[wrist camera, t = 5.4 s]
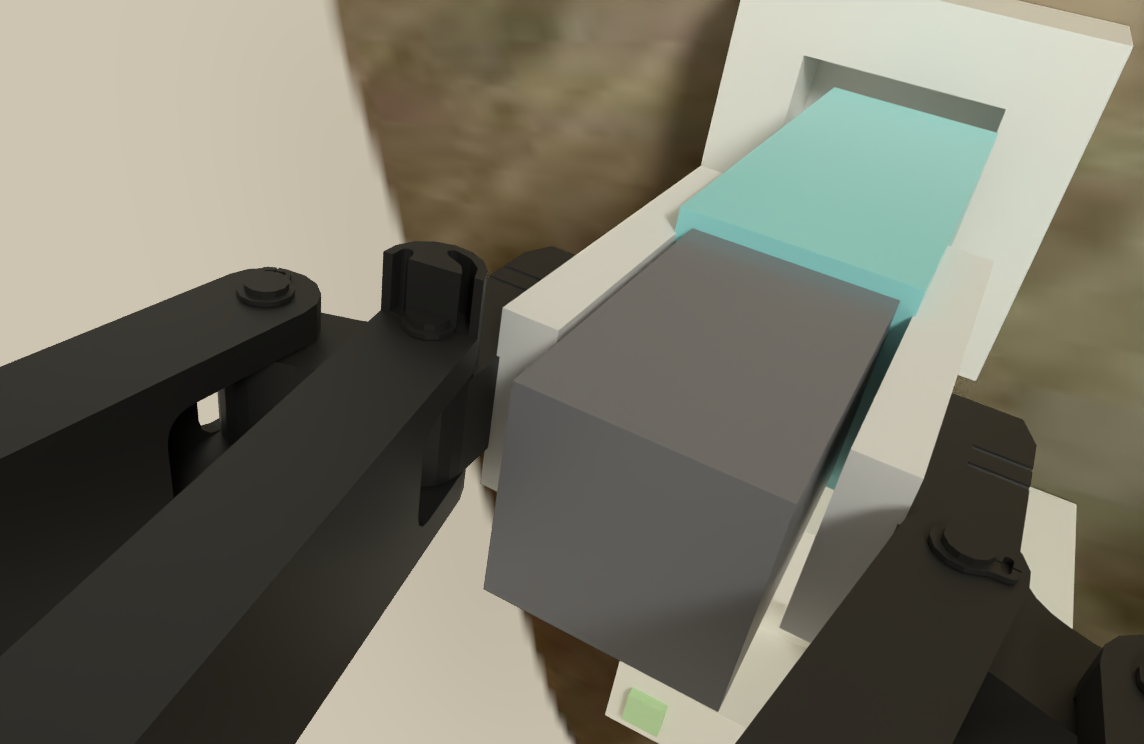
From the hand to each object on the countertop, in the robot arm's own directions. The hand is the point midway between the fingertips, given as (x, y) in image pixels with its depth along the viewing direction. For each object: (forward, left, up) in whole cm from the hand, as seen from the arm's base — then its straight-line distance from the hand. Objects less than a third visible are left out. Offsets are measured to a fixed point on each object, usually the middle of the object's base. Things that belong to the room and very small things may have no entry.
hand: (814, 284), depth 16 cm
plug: (0, 0, -6) cm, 6 cm away
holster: (0, 0, -10) cm, 10 cm away
